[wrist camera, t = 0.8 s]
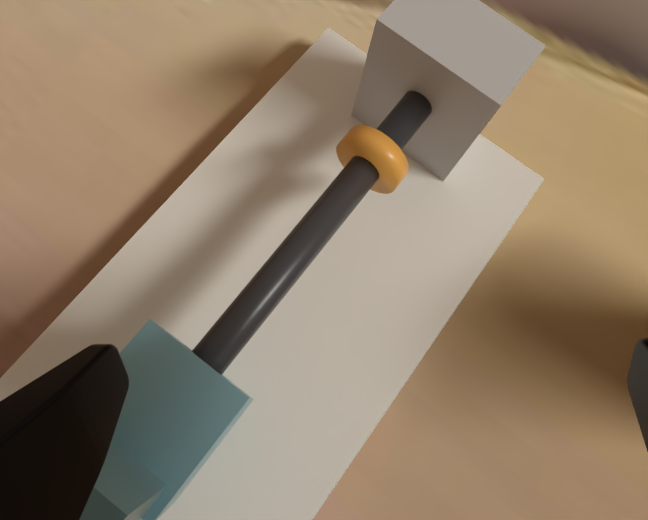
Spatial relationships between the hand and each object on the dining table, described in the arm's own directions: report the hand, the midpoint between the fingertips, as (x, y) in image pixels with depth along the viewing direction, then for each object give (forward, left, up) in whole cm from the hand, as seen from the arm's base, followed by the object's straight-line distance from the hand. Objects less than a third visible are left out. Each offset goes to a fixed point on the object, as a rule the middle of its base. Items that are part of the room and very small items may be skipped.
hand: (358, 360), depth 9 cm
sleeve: (-4, +3, -10) cm, 11 cm away
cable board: (0, +3, -13) cm, 13 cm away
